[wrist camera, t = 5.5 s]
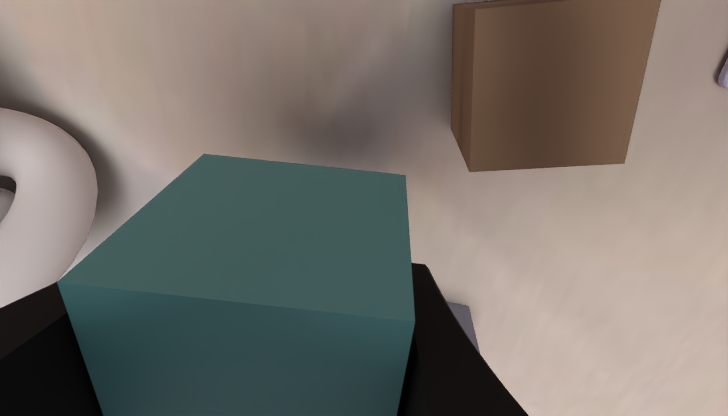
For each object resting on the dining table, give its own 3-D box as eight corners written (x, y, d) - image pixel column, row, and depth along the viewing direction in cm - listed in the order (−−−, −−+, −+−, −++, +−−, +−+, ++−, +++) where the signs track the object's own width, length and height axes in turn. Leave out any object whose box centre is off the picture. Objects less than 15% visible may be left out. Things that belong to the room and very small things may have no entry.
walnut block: (586, -9, 15) (662, -8, 11) (567, 120, 18) (624, 163, 13) (452, 4, 16) (475, 9, 12) (451, 128, 18) (469, 171, 14)
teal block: (405, 175, 10) (415, 321, 6) (383, 325, 12) (377, 510, 8) (204, 154, 10) (56, 282, 6) (220, 307, 12) (126, 481, 8)
